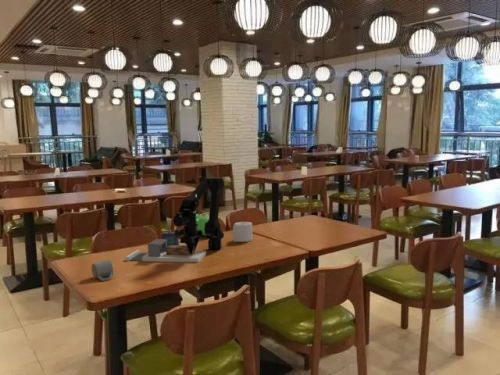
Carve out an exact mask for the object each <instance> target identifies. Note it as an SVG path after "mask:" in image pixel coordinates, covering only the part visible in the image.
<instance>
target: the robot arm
mask: <svg viewBox="0 0 500 375" xmlns="http://www.w3.org/2000/svg"><path fill="white" fill-rule="evenodd" d="M224 187H225V180H224V179H223V178H222V177H203V178H202V179H201V181H200V183H199V184H198V185H197V187H195V189H194V190H193V192H191V194H189V195H187V196H186V197H185V198H184V199H183V200H182V202H181V205H180V207H179V210H178V212H176V213H175V215H174V217H173V219H172V220H173V224H174V226H176V227H177V229H175V230H174V231H173V232H174V233H175V234H174V235H176V237H179V238H180V237H181V238H180V239H179V244H184V245H186V246H187V247H188V250H189V253H190V254H192V252H193V249H194V246H195V251H197V250H196V249H197V246H198V245H199V241H200V239H201V236H203V235H202V231H201V230H197V226H198V224H197V223H196V214H198V213H199V211H198V210H197V209H198V207H199V205H200V200H201V199H202V197H203V196H204V194H205V193H206V191H207V190H209V192H210V203H209V220H208V222H207V223H205V228H204V230H205V234H206V236H205V238H206V239H208V241H207V246H208V248H207V249H208V250H209V251H220V250H221V249H222V248H223V246H222V240H223V239H224V235H225V233H224V232H223V231H222V229H221V224H220V221H219V211H220V210H219V209H220V201H221V200H220V199H221V198H220V197H221V193H222V192H223V190H224ZM179 227H182V228H179ZM198 235H199V236H198Z"/></svg>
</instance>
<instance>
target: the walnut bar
mask: <svg viewBox="0 0 500 375" xmlns="http://www.w3.org/2000/svg"><path fill="white" fill-rule="evenodd" d="M195 251H196V250H195V246H194V249H193V252H192V254H190V253H189V250H188V247H187V245H186V244H184V245H181V244H179V245H169V246H167V247H166V255H191V256H192V255H193V254H194V253H195Z"/></svg>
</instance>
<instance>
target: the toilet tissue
mask: <svg viewBox="0 0 500 375" xmlns="http://www.w3.org/2000/svg"><path fill="white" fill-rule="evenodd" d="M232 236H233V237H232V241H233V243H237V242H238V243H239V242H241V243H245V242H247V243H248V242H251V241H253V240H254V239H253V223H252V222H250V221H240V222H235V223H234V224H233V225H232ZM252 239H253V240H252Z"/></svg>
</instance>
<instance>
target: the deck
mask: <svg viewBox="0 0 500 375" xmlns="http://www.w3.org/2000/svg"><path fill="white" fill-rule="evenodd" d="M160 255H161V256H160V257H149V255H148V252H141V249H136V250H134V251H133V252H130V253H129V254H128V255H126V256H125V261H126V262H128V261H129V262H166V263H167V262H168V263H170V262H171V263H199V262H201V261H202V259H204V258H205V256H206V255H207V251H206V250H195V253H194V254H193V255H192V256H191V255H166V252H160Z"/></svg>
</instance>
